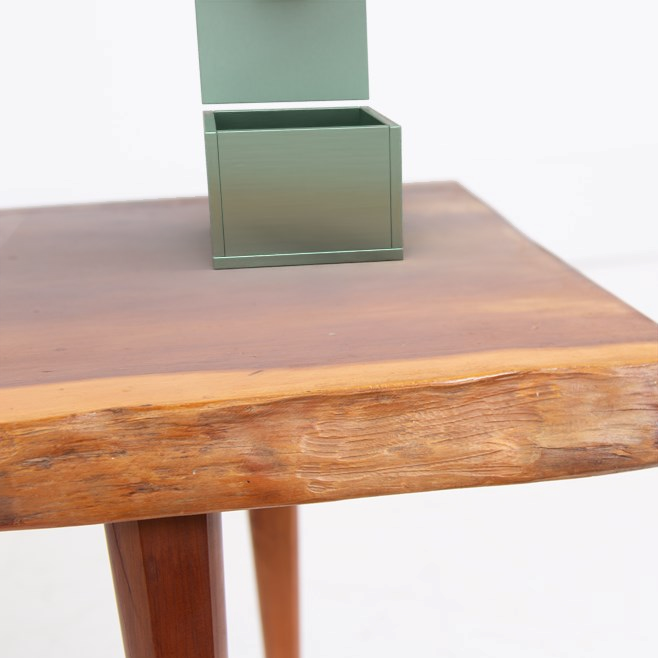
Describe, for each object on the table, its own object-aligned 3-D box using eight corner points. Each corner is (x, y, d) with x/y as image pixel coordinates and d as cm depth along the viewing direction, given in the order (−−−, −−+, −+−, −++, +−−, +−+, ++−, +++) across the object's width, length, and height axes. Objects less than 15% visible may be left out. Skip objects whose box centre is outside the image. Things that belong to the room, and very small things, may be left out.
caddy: (403, 259, 75) (401, 125, 72) (213, 269, 73) (204, 131, 70) (371, 220, 89) (368, 105, 86) (210, 227, 87) (202, 110, 84)
